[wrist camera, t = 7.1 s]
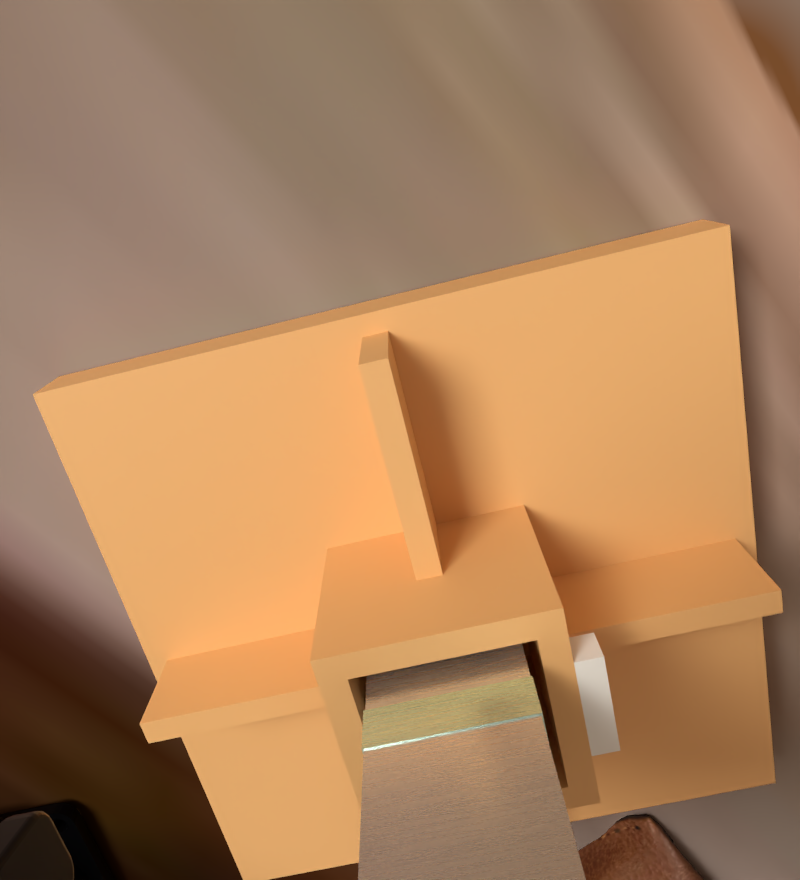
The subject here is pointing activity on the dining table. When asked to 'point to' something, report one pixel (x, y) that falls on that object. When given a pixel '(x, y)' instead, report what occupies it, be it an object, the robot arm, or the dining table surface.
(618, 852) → the sunglasses case
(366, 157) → the dining table surface
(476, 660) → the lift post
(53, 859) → the robot arm
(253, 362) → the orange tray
